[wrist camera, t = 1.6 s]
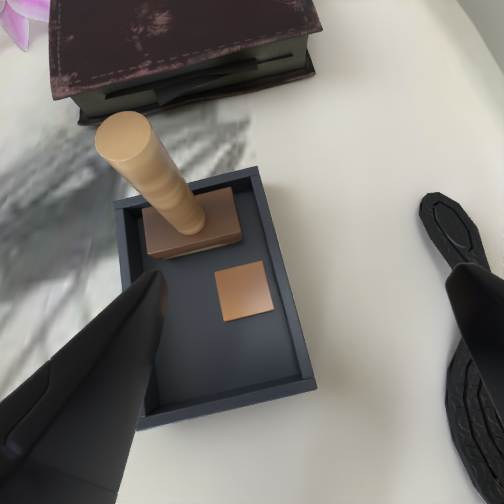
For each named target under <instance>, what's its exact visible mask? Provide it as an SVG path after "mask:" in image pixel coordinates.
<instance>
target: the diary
mask: <svg viewBox="0 0 504 504" xmlns="http://www.w3.org/2000/svg"><path fill="white" fill-rule="evenodd" d="M322 30H323V28H322V26H321V23H320V21H319V18H318V15H317V12H316V10H315V7H314V4H313V2H312V0H50V11H49V66H50V83H51V92H52V97H53V100H55V101H56V100H60V99H64V98H68V97H71V98H72V100H73V101H74V102H75V103H76V104H77V105H78V106H79V107H80V119H79V121H78V125H80V126H93V125H98V124H102V123H103V122H104V121H105V120H106V119H107V118H108V117H110V116H112V115H114V114H116V113H119V112H123V111H133V112H137V113H140V114H142V115H146V114H150V113H153V112H157V111H160V110H164V109H167V108H171V107H175V106H178V105H182V104H185V103H189V102H193V101H198V100H204V99H210V98H217V97H223V96H229V95H236V94H242V93H248V92H253V91H257V90H261V89H264V88H268V87H271V86H275V85H278V84H282V83H285V82H289V81H292V80H296V79H300V78H303V77H307V76H311V75H315V74H316V72H315V70H314V67H313V64H312V61H311V58H310V55H309V52H308V50H307V39H308V35H309V34H313V33H317V32H321V31H322Z"/></svg>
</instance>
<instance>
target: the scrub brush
mask: <svg viewBox="0 0 504 504" xmlns="http://www.w3.org/2000/svg"><path fill="white" fill-rule="evenodd" d="M95 146H96V149H97V151H98V152H99V154H100V155H101V156H102V157H103V158H104V159H105V160H106V161H107V162H108V163H109V164H110V165H111V166H112V167H113V168H114V169H115V170H116V171H117V172H118V173H119V174H120V175H122V176H123V177H124V178H125V179H126V180H127V181H128V182H129V183H130V184H131V185H132V186H133V187H134V188H135V189H136V190H137V191H138V192H139V193H140V194H141V195H142V196H143V197H144V198H145V199H146V200H147V201H148V202H149V203H150V204H151V205H152V206H151V207H147V208H143V209H142V213H143V221H144V229H145V237H146V244H147V252H148V255H150V256H152V257H153V258H155V259H157V260H158V259H163V260H168V259H172V258H176V257H180V256H184V255H188V254H192V253H196V252H200V251H204V250H208V249H212V248H216V247H221V246H225V245H229V244H233V243H237V242H241V241H242V239H243V238H244V237H243V233H242V228H241V224H240V220H239V216H238V211H237V207H236V203H235V199H234V195H233V192H232V189H231V187H228V188H224V189H220V190H216V191H212V192H208V193H204V194H200V195H196V196H194V194H193V192H192V191H191V189H190V187H189V186H188V184H187V183H186V181H185V179H184V178H183V176H182V174H181V173H180V171H179V170H178V168H177V166H176V165H175V163H174V161H173V160H172V158H171V157H170V155H169V153H168V152H167V150H166V148H165V147H164V145H163V144H162V142H161V140H160V139H159V137H158V135H157V134H156V132H155V130H154V129H153V127H152V126H151V124H150V122H149V121H148V119H147V118H146V117H145V116H143V115H142V114H140V113H137V112H133V111H123V112H119V113H116V114H114V115H112V116H110V117H108V118H107V119H106V120H105V121H104V122H103V123H102V124H101V125H100V126H99V128H98V130H97V132H96V135H95Z"/></svg>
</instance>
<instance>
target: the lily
mask: <svg viewBox="0 0 504 504" xmlns="http://www.w3.org/2000/svg"><path fill="white" fill-rule="evenodd" d="M49 11H50V0H0V24H1V26H2V27H3V28H4V30H5V31H6V32H7V33H8V35H9V36H10V37H11V38H12V40H13V41H14V42H15V43H16V44H17V45H18V46H19V47H20V48H21V50H23V51H26V50H27V46H28V34H29V26H28V18H30V19H34V20H38V21H44V22H49Z"/></svg>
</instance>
